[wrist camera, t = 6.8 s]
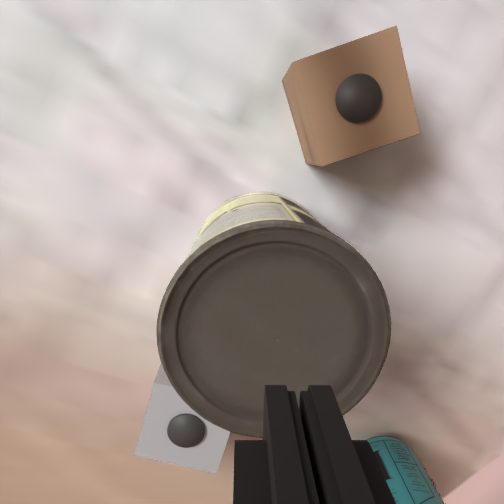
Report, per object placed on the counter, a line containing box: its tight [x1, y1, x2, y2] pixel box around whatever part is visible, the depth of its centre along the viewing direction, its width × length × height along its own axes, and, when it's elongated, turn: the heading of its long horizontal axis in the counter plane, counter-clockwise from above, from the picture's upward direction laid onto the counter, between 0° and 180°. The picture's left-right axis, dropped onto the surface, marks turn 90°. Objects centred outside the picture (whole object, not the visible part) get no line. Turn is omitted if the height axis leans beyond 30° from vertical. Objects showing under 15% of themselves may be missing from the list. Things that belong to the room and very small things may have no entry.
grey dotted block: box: [134, 363, 230, 474], centre depth 31 cm, size 6×6×6 cm
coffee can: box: [157, 192, 391, 438], centre depth 24 cm, size 10×10×14 cm
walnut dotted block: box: [282, 26, 420, 166], centre depth 26 cm, size 6×6×6 cm
